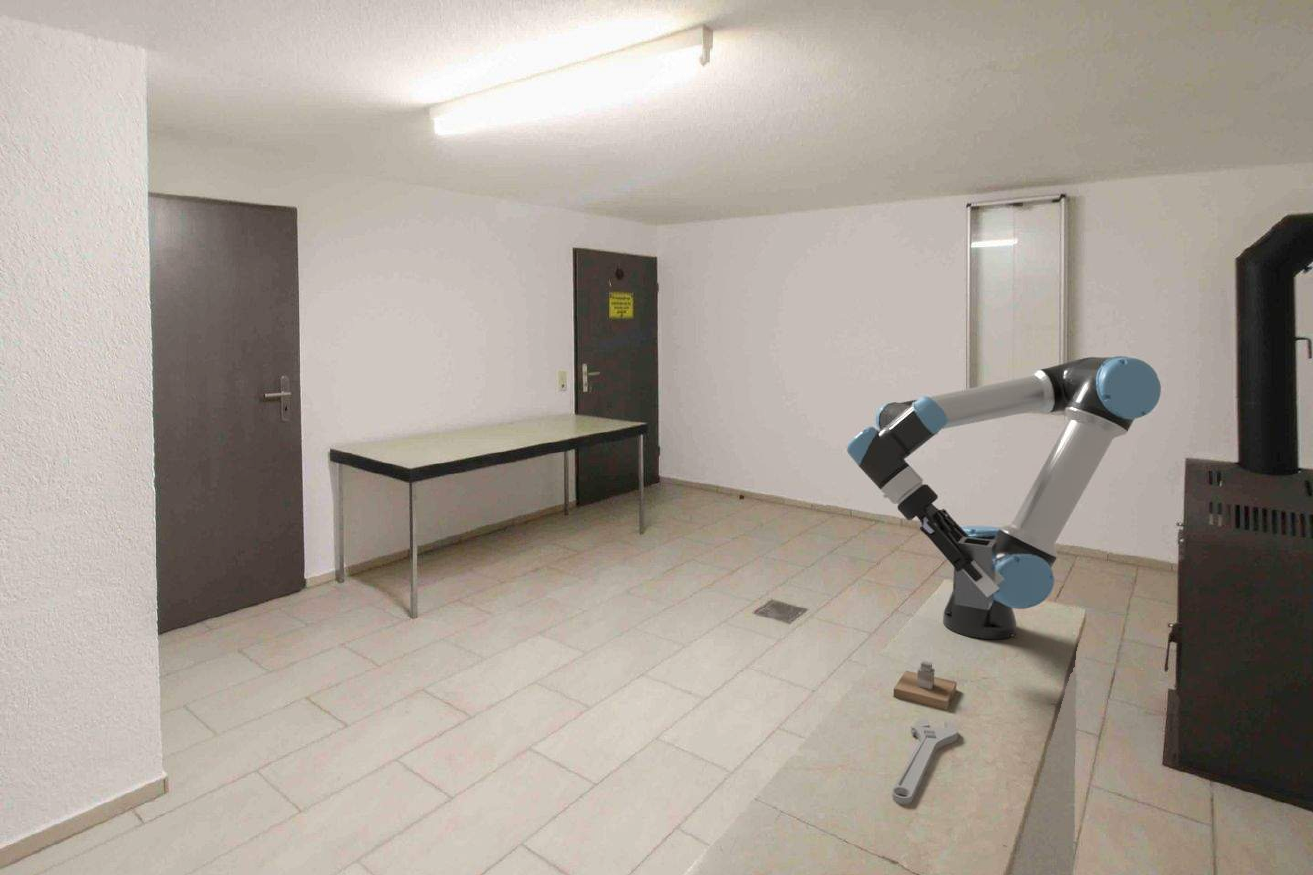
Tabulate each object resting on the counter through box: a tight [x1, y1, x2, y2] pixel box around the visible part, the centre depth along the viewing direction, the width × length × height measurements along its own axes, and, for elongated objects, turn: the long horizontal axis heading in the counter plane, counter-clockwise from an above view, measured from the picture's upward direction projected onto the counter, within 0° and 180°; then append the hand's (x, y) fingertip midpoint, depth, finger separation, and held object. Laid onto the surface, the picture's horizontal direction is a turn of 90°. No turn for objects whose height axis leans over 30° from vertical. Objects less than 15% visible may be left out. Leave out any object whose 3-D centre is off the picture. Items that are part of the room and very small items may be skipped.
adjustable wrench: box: [891, 717, 959, 806], centre depth 109 cm, size 25×6×2 cm, turn 142°
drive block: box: [893, 659, 958, 711], centre depth 130 cm, size 9×9×6 cm
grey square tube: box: [955, 537, 997, 610], centre depth 138 cm, size 6×6×12 cm
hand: (995, 587), depth 137 cm, fingers closed on grey square tube, 6 cm apart
